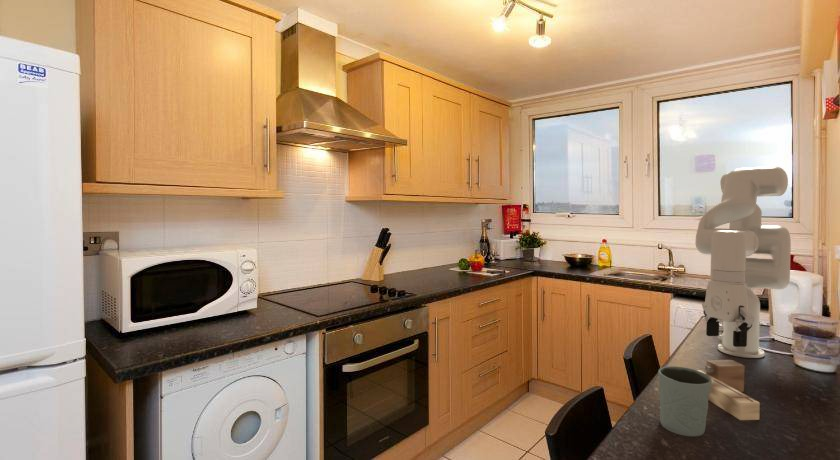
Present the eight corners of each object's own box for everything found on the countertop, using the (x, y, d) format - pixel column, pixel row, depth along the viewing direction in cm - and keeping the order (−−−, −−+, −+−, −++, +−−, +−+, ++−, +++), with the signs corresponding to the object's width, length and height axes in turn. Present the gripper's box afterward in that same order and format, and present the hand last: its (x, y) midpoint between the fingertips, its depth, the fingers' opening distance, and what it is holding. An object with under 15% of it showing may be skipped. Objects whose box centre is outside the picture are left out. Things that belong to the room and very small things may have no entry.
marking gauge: (700, 385, 120) (701, 360, 119) (736, 384, 120) (736, 359, 120) (712, 392, 115) (713, 366, 115) (749, 391, 116) (750, 365, 115)
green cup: (662, 412, 105) (663, 362, 104) (713, 425, 98) (714, 372, 98) (653, 429, 97) (653, 376, 96) (707, 444, 90) (708, 387, 90)
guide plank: (683, 384, 120) (684, 370, 120) (699, 384, 120) (700, 369, 120) (740, 420, 100) (740, 402, 100) (759, 419, 100) (759, 402, 100)
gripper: (691, 272, 124) (690, 332, 125) (738, 282, 107) (736, 351, 108) (717, 272, 125) (715, 332, 125) (768, 281, 107) (766, 350, 108)
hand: (725, 340), depth 116 cm, fingers open, 9 cm apart
